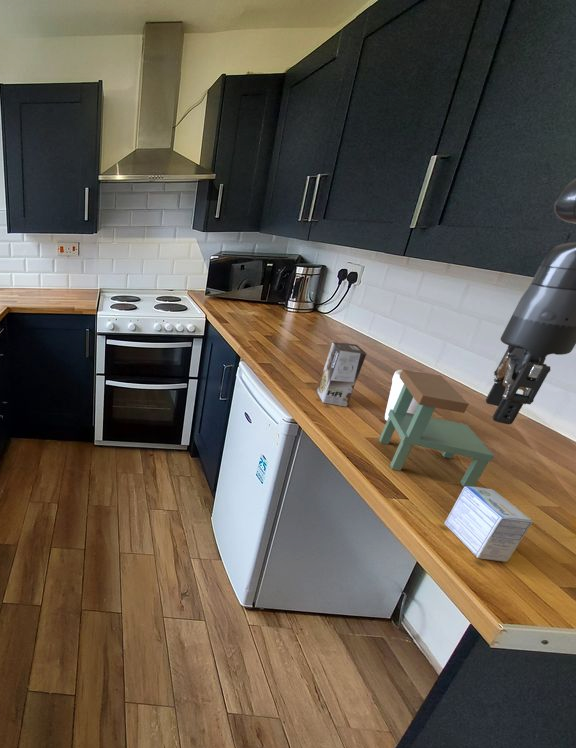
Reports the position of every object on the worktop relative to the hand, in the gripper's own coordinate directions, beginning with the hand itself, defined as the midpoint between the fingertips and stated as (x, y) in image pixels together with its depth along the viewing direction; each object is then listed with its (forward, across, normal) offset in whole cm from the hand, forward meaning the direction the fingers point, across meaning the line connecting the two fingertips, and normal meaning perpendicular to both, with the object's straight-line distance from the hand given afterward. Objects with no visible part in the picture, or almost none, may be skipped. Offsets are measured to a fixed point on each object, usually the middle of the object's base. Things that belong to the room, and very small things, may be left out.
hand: (497, 412), depth 66 cm
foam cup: (+21, +38, +8) cm, 44 cm away
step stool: (+20, +17, +3) cm, 27 cm away
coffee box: (+21, +42, +24) cm, 52 cm away
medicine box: (+21, -8, -3) cm, 22 cm away
